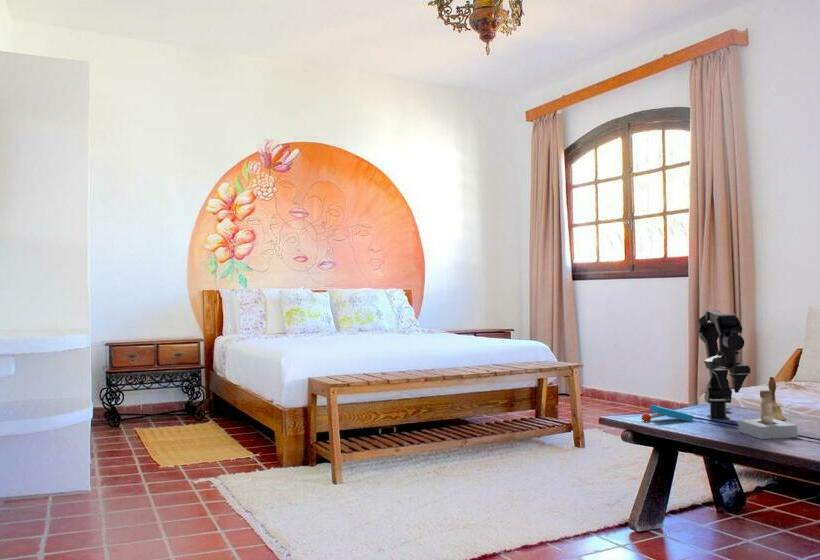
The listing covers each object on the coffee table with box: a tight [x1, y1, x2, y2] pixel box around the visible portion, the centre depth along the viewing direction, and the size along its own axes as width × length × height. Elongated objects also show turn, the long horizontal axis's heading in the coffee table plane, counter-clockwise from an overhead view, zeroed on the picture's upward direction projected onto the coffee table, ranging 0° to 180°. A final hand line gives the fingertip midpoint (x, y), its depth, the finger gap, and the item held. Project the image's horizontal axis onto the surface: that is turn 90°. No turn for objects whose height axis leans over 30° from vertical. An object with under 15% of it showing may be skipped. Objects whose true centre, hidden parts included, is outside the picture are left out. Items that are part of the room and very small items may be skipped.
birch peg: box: [759, 389, 773, 424], centre depth 238 cm, size 4×4×15 cm
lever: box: [641, 404, 694, 422], centre depth 267 cm, size 7×7×18 cm
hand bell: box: [767, 376, 787, 421], centre depth 265 cm, size 8×8×16 cm
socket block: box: [737, 418, 798, 440], centre depth 238 cm, size 13×13×4 cm
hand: (729, 390), depth 253 cm, fingers open, 9 cm apart
